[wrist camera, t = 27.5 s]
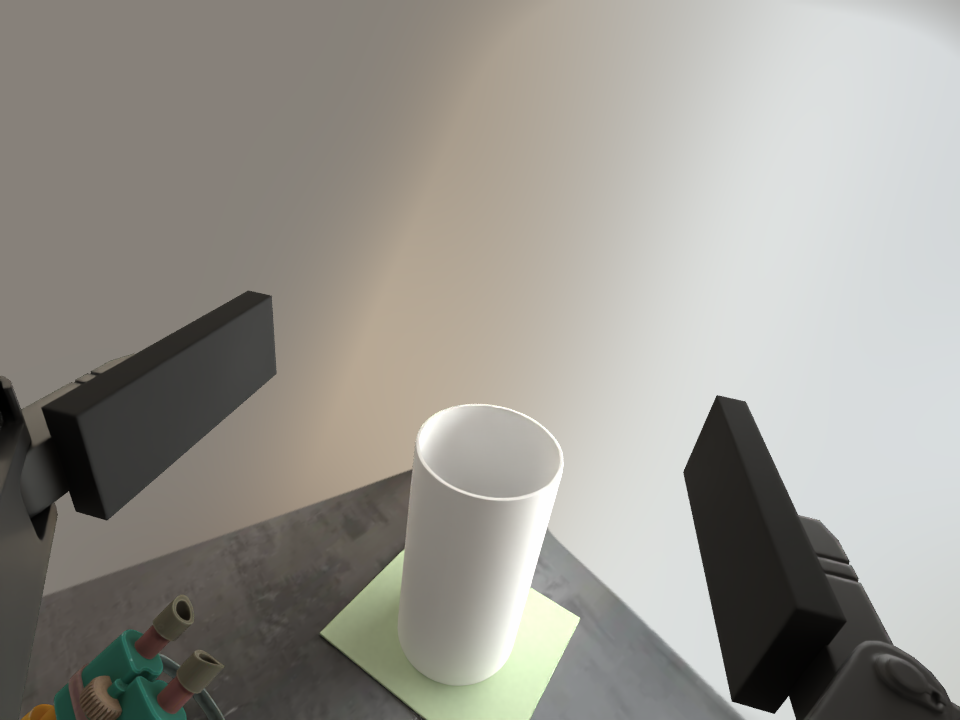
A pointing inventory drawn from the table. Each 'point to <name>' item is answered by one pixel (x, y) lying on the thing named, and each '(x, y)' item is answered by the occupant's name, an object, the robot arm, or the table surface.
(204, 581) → the table surface
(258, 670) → the table surface
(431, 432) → the cup
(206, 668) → the binoculars
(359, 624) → the placemat
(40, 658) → the table surface
